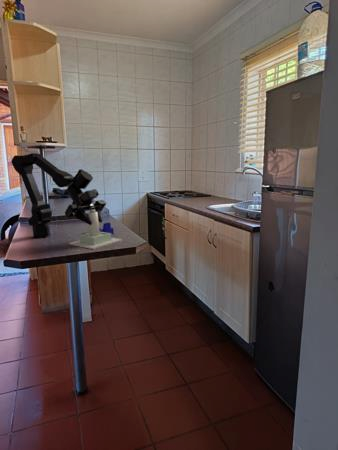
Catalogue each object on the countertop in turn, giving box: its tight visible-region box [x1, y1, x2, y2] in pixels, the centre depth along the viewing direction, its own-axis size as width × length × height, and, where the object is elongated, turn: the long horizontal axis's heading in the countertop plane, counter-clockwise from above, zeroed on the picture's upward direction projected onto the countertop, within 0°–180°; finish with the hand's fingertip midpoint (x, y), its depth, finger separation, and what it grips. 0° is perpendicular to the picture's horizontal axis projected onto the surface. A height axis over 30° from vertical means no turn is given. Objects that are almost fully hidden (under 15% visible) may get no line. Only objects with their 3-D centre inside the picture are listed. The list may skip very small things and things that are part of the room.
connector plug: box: [87, 210, 103, 237], centre depth 130 cm, size 5×5×14 cm
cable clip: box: [99, 221, 115, 235], centre depth 149 cm, size 12×4×6 cm, turn 49°
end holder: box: [68, 232, 123, 250], centre depth 131 cm, size 16×16×4 cm
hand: (96, 223), depth 129 cm, fingers open, 5 cm apart
